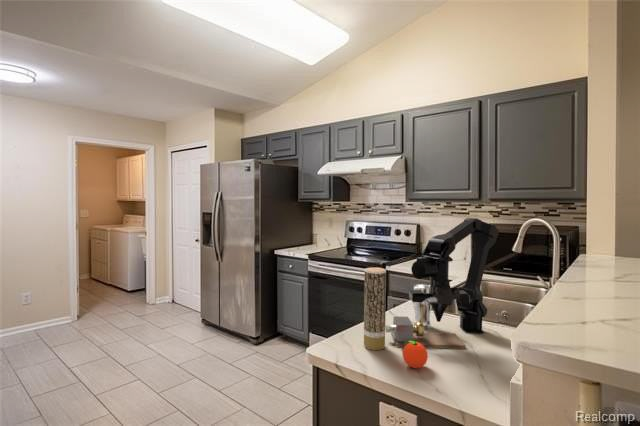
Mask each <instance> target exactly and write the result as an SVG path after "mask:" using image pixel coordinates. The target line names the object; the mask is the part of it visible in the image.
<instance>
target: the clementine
mask: <svg viewBox="0 0 640 426" xmlns="http://www.w3.org/2000/svg"><path fill="white" fill-rule="evenodd" d="M407 342H410V343H408V344H407V345H406V346H405V347H403V349H402V358H403V361H404V362H405V364H406V365H407V366H409V367H410V368H413V369H421V368H422V367H424V366H425V365H426V364H427V362H428V358H429V355H428V351H427V348H425V347H424V346H423V345H422V344H420V343H418V342H414V341H407ZM405 343H406V342H405ZM404 345H405V344H404Z"/></svg>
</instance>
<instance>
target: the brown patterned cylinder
mask: <svg viewBox="0 0 640 426" xmlns="http://www.w3.org/2000/svg"><path fill="white" fill-rule="evenodd" d="M363 281H364V283H363V284H364V285H363V286H364V287H363V290H364V293H363V296H364V297H363V302H364V303H363V346H364V347H365V348H366V349H369V350H371V351H380V350H383V349H384V348H385V347H386V346H385V345H386V314H387V313H386V307H387V306H386V305H387V296H386V295H387V269H385V268H383V267H366V268H364V280H363Z"/></svg>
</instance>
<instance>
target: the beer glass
mask: <svg viewBox="0 0 640 426" xmlns="http://www.w3.org/2000/svg"><path fill="white" fill-rule="evenodd" d="M429 288H430V284H425V283H424V284H421V283H418V284H414V285H413V290H422V292H423V293H430V291H429ZM412 303H413V309H414V322H413V325H415V322H422V323H423V326H424V330H425V329H430V328H431V327H432V324H431V311H432V306H431V305H430V304H429V303H428V302H427V301H426V299H425V300H424V301H423V302H412Z"/></svg>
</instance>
